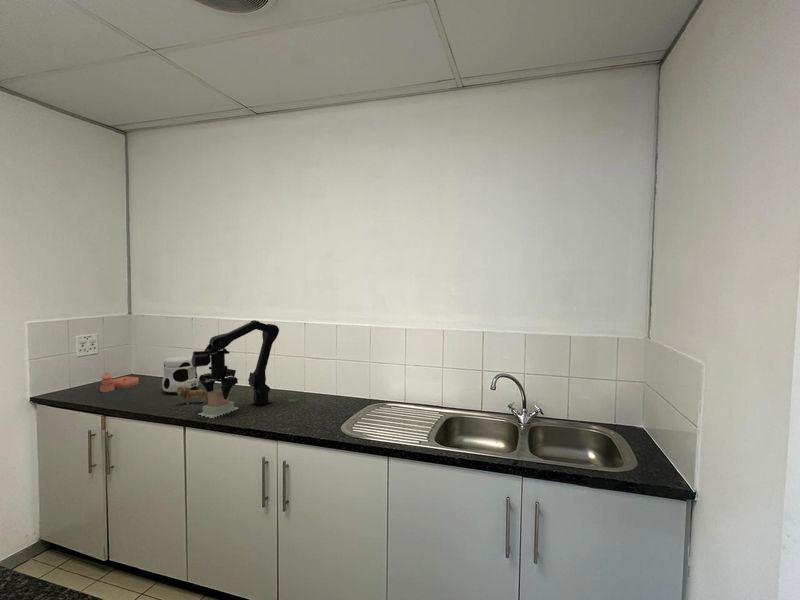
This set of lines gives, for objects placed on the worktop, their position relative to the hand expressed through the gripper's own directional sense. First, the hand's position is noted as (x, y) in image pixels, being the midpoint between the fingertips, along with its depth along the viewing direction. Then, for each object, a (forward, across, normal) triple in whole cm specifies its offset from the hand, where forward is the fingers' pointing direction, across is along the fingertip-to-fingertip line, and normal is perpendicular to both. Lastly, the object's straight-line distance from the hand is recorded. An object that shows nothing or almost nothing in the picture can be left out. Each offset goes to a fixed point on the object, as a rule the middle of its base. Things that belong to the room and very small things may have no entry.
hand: (218, 398), depth 179 cm
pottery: (+7, +83, -3) cm, 84 cm away
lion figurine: (+7, +22, -3) cm, 23 cm away
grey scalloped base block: (+7, 0, 0) cm, 7 cm away
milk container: (+7, +47, -15) cm, 50 cm away
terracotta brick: (+3, 0, 0) cm, 3 cm away
